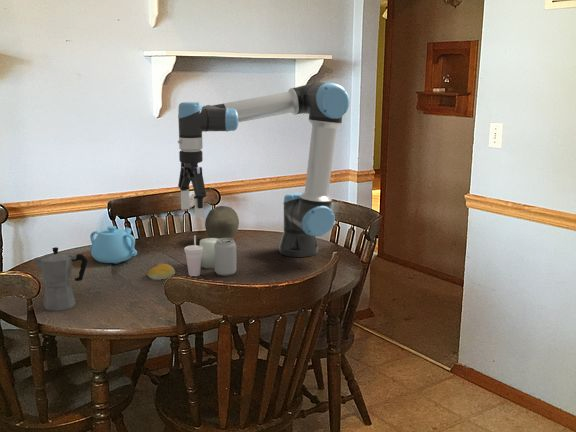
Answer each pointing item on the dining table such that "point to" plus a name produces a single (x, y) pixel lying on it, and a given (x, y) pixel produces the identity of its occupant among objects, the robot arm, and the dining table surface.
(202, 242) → the sage mug
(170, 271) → the bread roll
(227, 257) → the can
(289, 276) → the dining table surface
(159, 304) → the dining table surface
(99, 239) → the teapot
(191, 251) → the smoothie
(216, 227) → the cantaloupe
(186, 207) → the robot arm
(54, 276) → the coffeepot
